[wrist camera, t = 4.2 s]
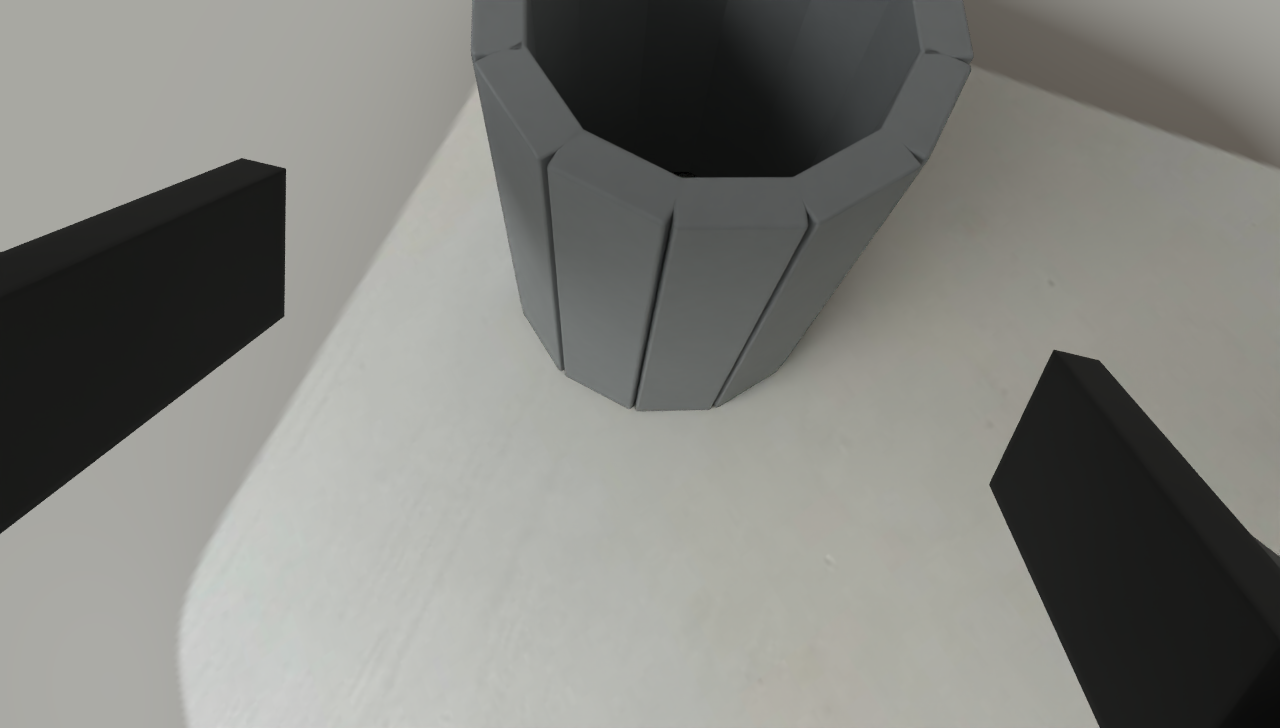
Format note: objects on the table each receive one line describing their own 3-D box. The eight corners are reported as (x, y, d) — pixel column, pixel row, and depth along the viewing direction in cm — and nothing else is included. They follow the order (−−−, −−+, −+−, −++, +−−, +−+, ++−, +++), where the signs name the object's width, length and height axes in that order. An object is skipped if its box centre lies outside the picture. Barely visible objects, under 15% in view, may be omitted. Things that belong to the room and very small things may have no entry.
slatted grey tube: (466, 324, 26) (371, 78, 15) (608, 104, 29) (621, -247, 17) (732, 464, 25) (853, 320, 14) (852, 223, 28) (1035, -64, 16)
